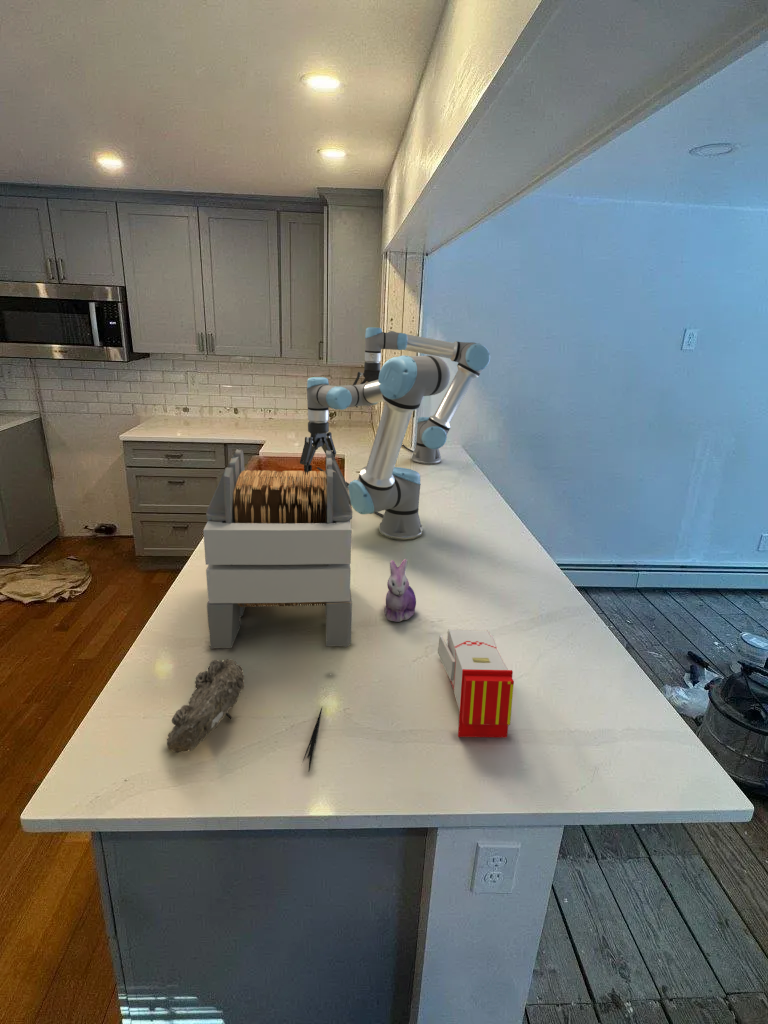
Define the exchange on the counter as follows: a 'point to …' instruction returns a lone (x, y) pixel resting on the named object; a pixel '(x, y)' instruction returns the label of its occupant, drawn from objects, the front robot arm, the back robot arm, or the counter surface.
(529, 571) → the counter surface
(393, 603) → the figurine
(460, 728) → the toy
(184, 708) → the fossil
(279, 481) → the gray record crate
